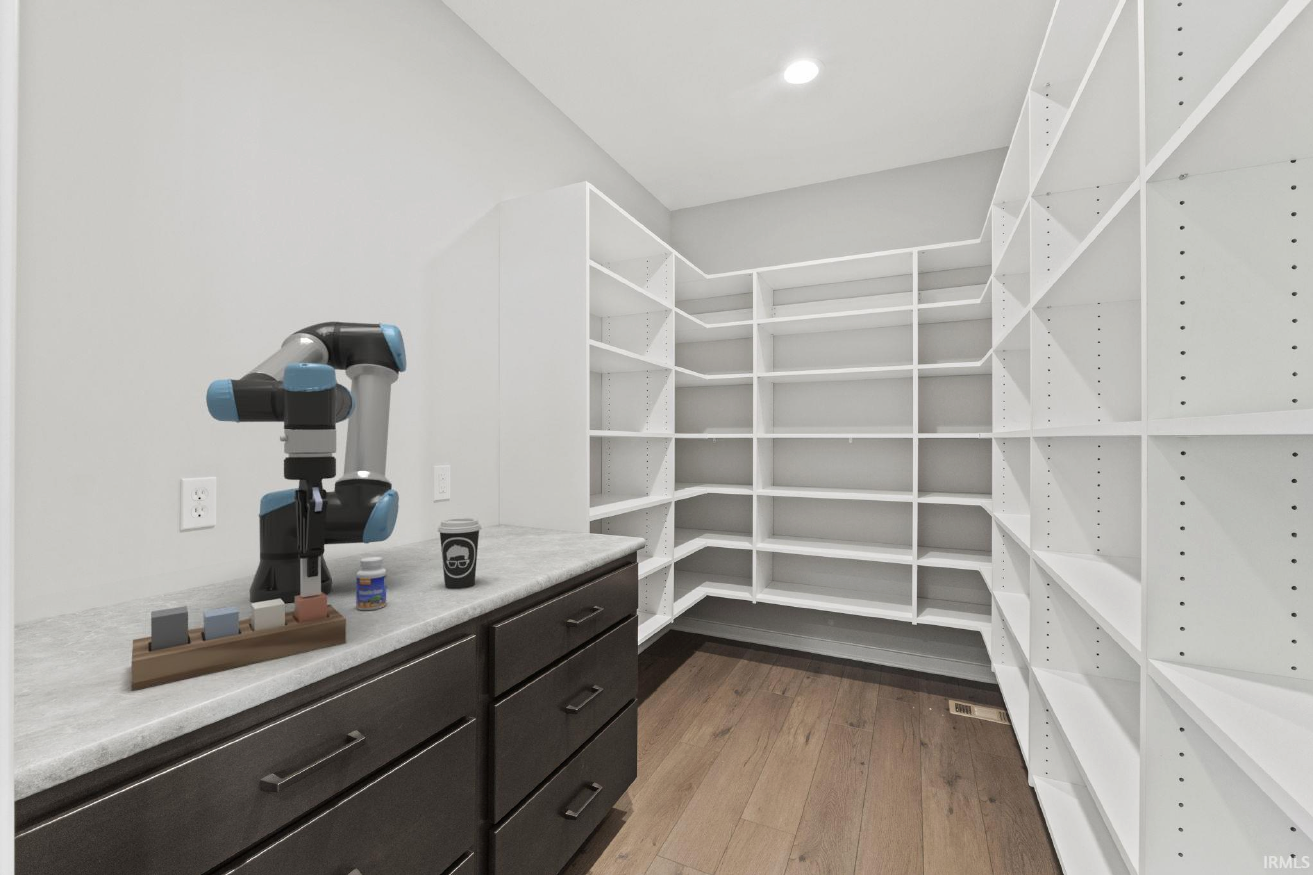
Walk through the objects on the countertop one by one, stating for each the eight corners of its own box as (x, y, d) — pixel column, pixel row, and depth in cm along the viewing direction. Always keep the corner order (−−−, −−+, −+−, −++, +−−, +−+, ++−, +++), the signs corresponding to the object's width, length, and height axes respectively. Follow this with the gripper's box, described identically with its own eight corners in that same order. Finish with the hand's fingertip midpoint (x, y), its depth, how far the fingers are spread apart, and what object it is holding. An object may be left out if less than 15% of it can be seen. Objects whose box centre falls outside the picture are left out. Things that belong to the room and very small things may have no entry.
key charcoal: (151, 645, 82) (151, 611, 82) (186, 638, 85) (186, 605, 85) (151, 652, 79) (151, 617, 79) (188, 645, 82) (188, 611, 82)
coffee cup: (490, 583, 130) (490, 519, 130) (455, 593, 122) (455, 524, 122) (463, 578, 136) (463, 516, 136) (428, 587, 128) (428, 521, 128)
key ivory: (251, 634, 90) (251, 603, 90) (280, 628, 93) (280, 598, 93) (254, 640, 87) (254, 608, 87) (284, 634, 90) (284, 603, 90)
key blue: (203, 643, 86) (203, 611, 86) (235, 637, 89) (235, 605, 89) (205, 650, 83) (205, 617, 83) (238, 643, 86) (238, 611, 86)
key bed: (133, 666, 83) (133, 639, 83) (329, 626, 101) (329, 604, 101) (131, 690, 75) (131, 661, 75) (345, 642, 93) (345, 618, 93)
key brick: (294, 625, 94) (294, 596, 94) (321, 620, 97) (321, 591, 97) (299, 631, 91) (299, 601, 91) (327, 625, 94) (327, 596, 94)
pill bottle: (355, 612, 109) (355, 563, 109) (356, 605, 114) (356, 557, 114) (386, 608, 111) (386, 560, 111) (386, 601, 116) (385, 555, 116)
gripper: (277, 455, 96) (277, 591, 96) (291, 456, 87) (291, 608, 87) (326, 454, 102) (326, 583, 102) (345, 455, 92) (345, 598, 92)
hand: (310, 594), depth 94 cm, fingers closed
